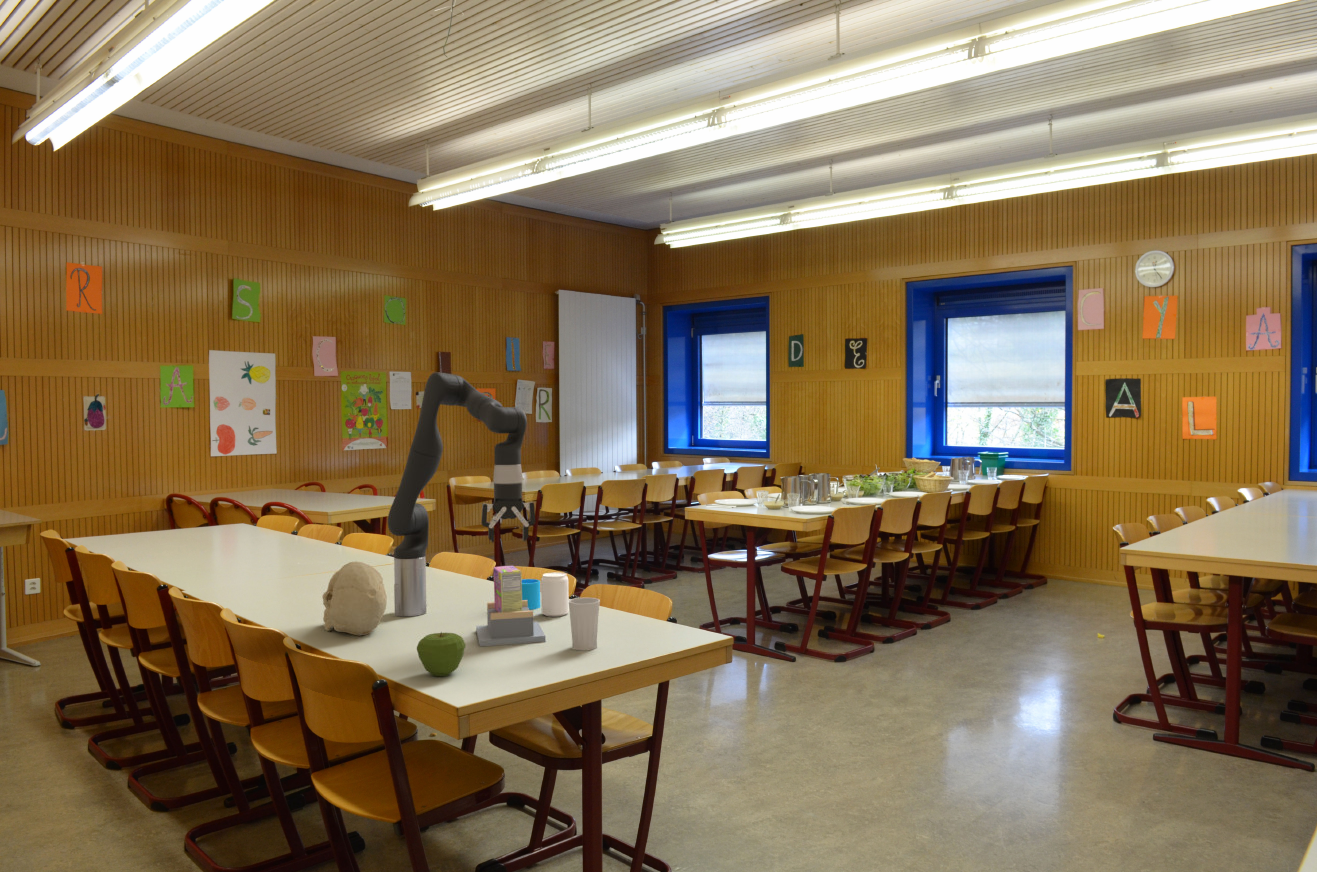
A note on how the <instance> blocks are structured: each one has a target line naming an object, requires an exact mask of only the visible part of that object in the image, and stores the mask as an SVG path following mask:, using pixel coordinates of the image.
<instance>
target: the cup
mask: <svg viewBox="0 0 1317 872" xmlns="http://www.w3.org/2000/svg"><path fill="white" fill-rule="evenodd" d="M600 604H601V600H600V599H599V598H595V597H577V598H571V599H569V618H570V620H569V621H570V628H571V629H570V630H571V642H572V649H573V650H576V651H591V650H595V649H597V648H598V633H599V631H598V630H599V628H598V627H599V616H600V615H599V614H600Z"/></svg>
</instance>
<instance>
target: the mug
mask: <svg viewBox="0 0 1317 872" xmlns="http://www.w3.org/2000/svg"><path fill="white" fill-rule="evenodd" d="M522 600H527V601H528V608H529V610H530V611H531V610H533V611H534V610H537V609H540V608H541V580H540V579H536V578H524V579H523V578H522Z"/></svg>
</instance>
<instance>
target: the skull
mask: <svg viewBox="0 0 1317 872" xmlns="http://www.w3.org/2000/svg"><path fill="white" fill-rule="evenodd" d="M383 580H384V579H383V577H382V575H381V573H380V572H379V571H378V570H377V569H376V568H375V567H374V566H371V565H369V564H367V563H365V562H361V561H351V562H348V563H345V564H344V565H342V567H341V568H340V569H339V570H337V571H336V572H334V574H333V575H332V576H331V578H330V579H329V582H328V585H327V589H326V591H325V592H323V594H322V603H323V604H322V605H323V606H324V608H325V609H324V611H323V618H322V619H323V622H324V628H325V630H326V631H327V632H330V631H332V630H333V628H334V631H336V632H339V633H340V632H341V633H342V632H343V633H344V632H345V633H347V634H350V635H354V636H366V635H370V634H371V633H372V632H373V631H374V630H376V629H377V627H378V626H379V624H380V622H381V620H382V618H383V616H384V614H385V612H386V609H387V603H388V602H387V599H388V596H387V593H386V589H385V584H384V581H383Z"/></svg>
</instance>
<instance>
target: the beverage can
mask: <svg viewBox="0 0 1317 872" xmlns="http://www.w3.org/2000/svg"><path fill="white" fill-rule="evenodd" d="M567 575H568V574H567V573H566V572H560V571H559V572H557V571H556V572H555V571H554V572H546V573H543V574H542V577H541V580H540V608H541V614H542V615H543V616H546V617H562V616H565V615H567V614H568V613H570V610H569V600H570V598H569V596H570V595H569V578H568V576H567Z"/></svg>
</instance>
